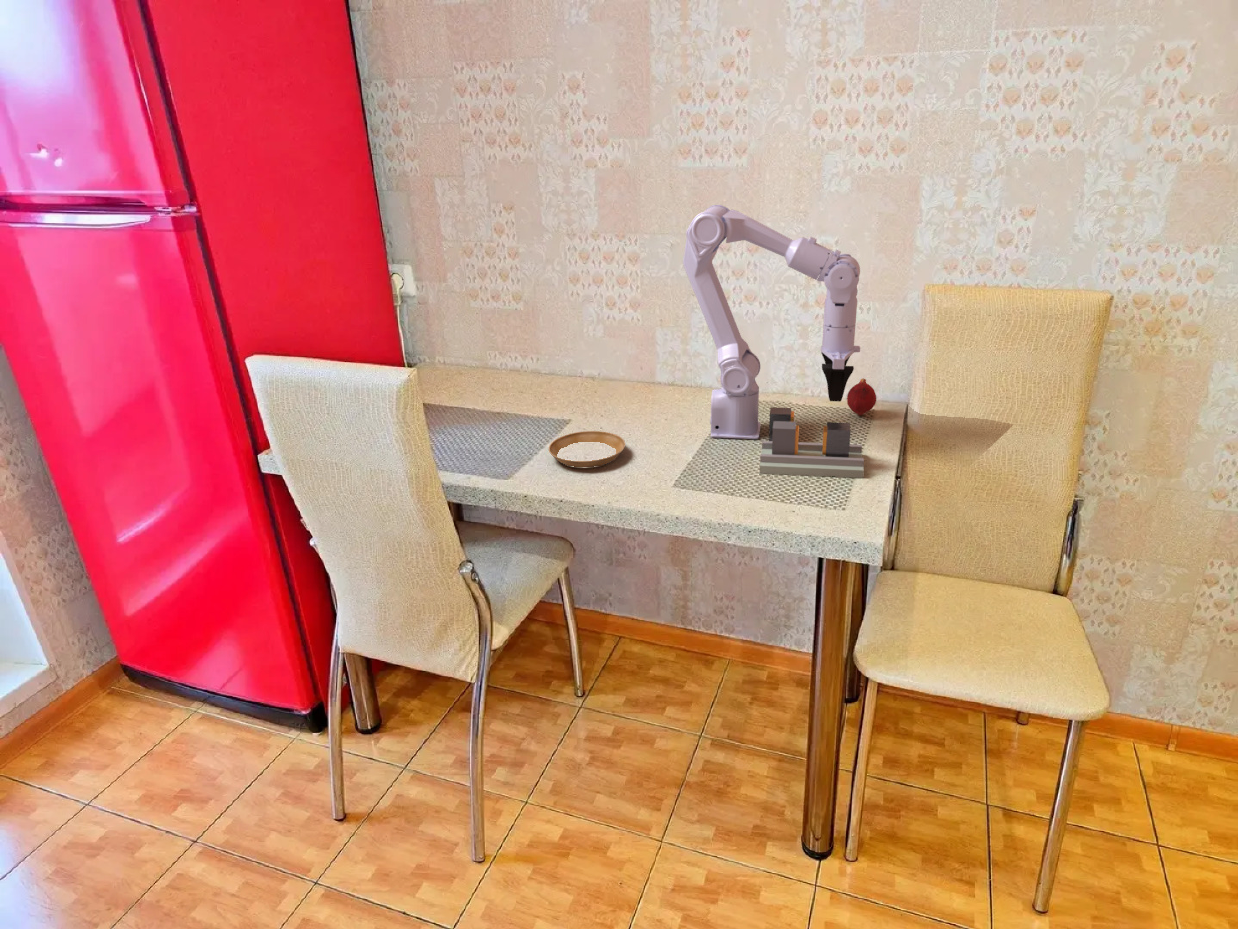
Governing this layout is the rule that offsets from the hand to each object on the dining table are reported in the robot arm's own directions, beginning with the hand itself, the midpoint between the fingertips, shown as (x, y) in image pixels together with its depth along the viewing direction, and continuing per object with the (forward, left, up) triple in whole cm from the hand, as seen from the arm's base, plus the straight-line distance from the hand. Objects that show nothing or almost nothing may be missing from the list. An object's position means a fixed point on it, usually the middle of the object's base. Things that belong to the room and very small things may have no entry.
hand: (834, 393), depth 157 cm
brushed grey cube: (0, -12, -8) cm, 14 cm away
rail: (-4, -12, -9) cm, 16 cm away
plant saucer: (-46, -13, -10) cm, 49 cm away
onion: (+6, +13, -10) cm, 17 cm away
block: (-10, -1, -10) cm, 14 cm away
